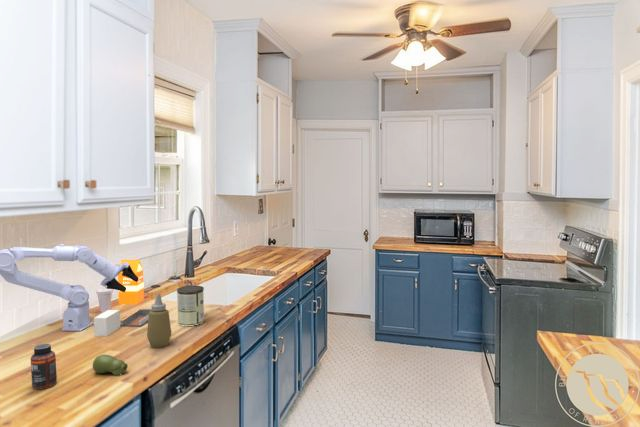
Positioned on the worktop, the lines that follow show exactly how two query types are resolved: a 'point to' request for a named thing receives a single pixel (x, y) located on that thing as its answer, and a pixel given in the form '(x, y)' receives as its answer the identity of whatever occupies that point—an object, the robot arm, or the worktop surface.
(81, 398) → the worktop surface
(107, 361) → the green lumpy rounded piece
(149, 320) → the squeeze bottle
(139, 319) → the dark grey tray
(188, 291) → the coffee can
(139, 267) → the orange juice
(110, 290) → the smoothie
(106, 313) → the white rectangular block
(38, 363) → the supplement bottle
